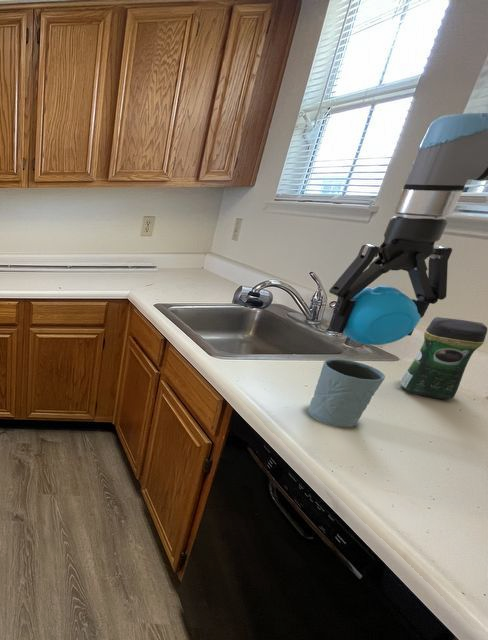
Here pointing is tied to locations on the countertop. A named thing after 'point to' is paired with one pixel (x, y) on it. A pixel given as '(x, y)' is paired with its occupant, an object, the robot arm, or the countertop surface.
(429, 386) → the coffee jar
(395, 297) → the blue rounded lump
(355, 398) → the grey embossed pot
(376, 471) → the countertop surface
